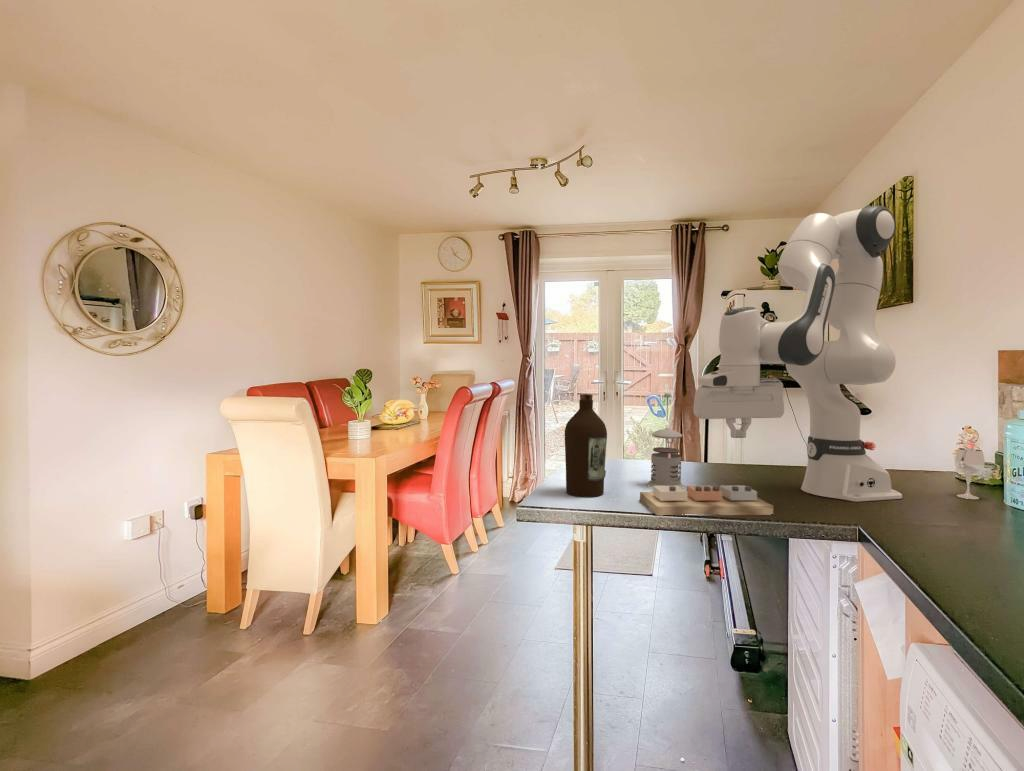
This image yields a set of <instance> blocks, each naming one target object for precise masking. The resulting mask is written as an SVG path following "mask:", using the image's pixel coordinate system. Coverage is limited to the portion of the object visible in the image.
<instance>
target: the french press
mask: <svg viewBox="0 0 1024 771" xmlns="http://www.w3.org/2000/svg"><path fill="white" fill-rule="evenodd" d="M663 398H666V420H668V415H669V414H668V413H669V412H668V411H669V409H668V407H669V406H668V405H669V398H672V394H671V393H670V392H665V393H664V395H663ZM651 436H652V437H654V438H658V439H665V446H664V447H663V446H662V447H661V446H659V447H654V448H652V451H653V453H651V457H650V458H651V460H650V461H651V464H650V465H651V466H650V469H651V470H650V480H649V481H648V482H647V483H648V484H647V486H648V485H649V486H648V487H650V486H651V488H653V486H679V487H681V488H683V487H684V488H685V485H684V484H683V482H682V471H681V470H682V455H681V454H679V453H681V449H679V448H676V444H675V443H676V442H675V439H681V438H682V437H683V434H682V433H680V432H679V431H677V430H674V429H671V428H668V426H666V427H665V428H663V429H662V428H661V429H658V430H655V431H654V432H652V433H651ZM669 440H672V441H671V442H669ZM670 444H673V447H670ZM669 456H670V457H669ZM684 488H683V489H684Z"/></svg>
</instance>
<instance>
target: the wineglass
mask: <svg viewBox="0 0 1024 771" xmlns="http://www.w3.org/2000/svg"><path fill="white" fill-rule="evenodd" d="M985 462H986V461H985V456H984V452H983V450H982V449H978V448H967V447H965V448H963V447H962V448H958V449H957V451H956V454H955V458H954V466H955V469H956V470H957V471H958V472H959V473H961V474H964V475H966V477H965V480H966V486H967V487H966V491H965V493H962V494H959V493H958V494H957V495H956V497H958V498H961V499H967V500H979V499H980V497H979V496H975V495H974V494H971V492H970V485H971V482H972V476H975V475H979V474H981V473H982V472H983V471H984V468H985V466H986V465H985V464H986V463H985Z"/></svg>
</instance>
